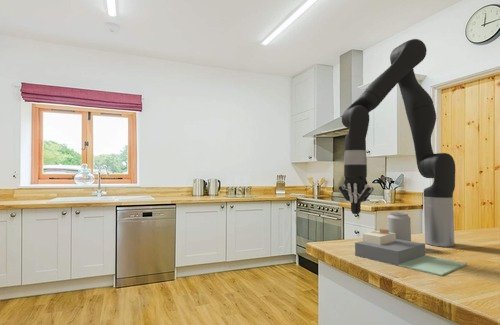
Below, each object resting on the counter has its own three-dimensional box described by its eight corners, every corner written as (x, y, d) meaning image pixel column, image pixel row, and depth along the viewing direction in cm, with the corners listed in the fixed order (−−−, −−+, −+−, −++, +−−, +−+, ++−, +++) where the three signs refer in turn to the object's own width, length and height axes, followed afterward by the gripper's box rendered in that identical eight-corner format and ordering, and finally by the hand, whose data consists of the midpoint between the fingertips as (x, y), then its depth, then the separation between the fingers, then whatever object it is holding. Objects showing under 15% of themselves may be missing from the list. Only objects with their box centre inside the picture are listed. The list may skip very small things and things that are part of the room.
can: (414, 249, 105) (413, 214, 105) (390, 248, 106) (389, 213, 107) (407, 244, 112) (406, 211, 112) (385, 243, 113) (384, 211, 114)
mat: (425, 256, 95) (425, 255, 95) (466, 264, 86) (466, 263, 86) (398, 265, 86) (398, 264, 86) (441, 276, 77) (441, 274, 77)
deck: (383, 248, 106) (382, 236, 107) (425, 256, 95) (425, 243, 95) (355, 255, 97) (354, 242, 97) (398, 265, 86) (398, 251, 86)
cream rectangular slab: (378, 238, 104) (378, 227, 104) (395, 241, 99) (395, 230, 99) (362, 241, 99) (362, 230, 99) (380, 244, 94) (379, 233, 94)
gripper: (378, 163, 104) (379, 215, 103) (346, 164, 115) (346, 211, 114) (366, 162, 99) (366, 216, 99) (333, 164, 110) (333, 212, 109)
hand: (355, 213), depth 106 cm, fingers closed
